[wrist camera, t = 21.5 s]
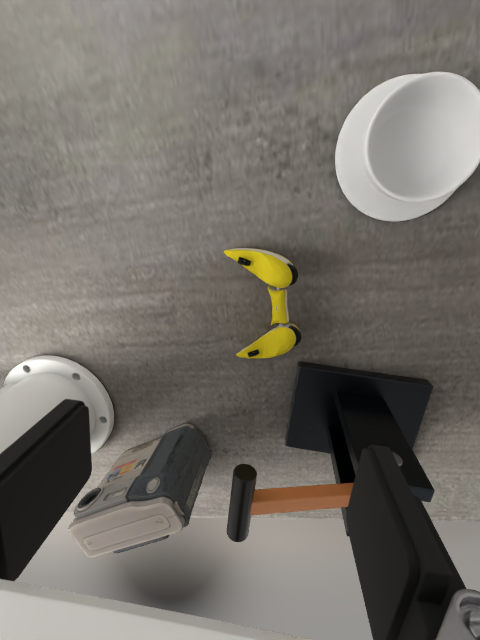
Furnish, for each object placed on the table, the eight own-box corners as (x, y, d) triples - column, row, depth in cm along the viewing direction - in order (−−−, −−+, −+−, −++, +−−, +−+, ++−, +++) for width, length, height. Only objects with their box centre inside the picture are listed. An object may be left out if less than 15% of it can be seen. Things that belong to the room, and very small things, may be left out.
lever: (224, 516, 23) (229, 551, 20) (230, 458, 21) (237, 488, 19) (380, 503, 25) (400, 532, 23) (396, 450, 23) (420, 476, 21)
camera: (196, 416, 35) (163, 491, 25) (220, 458, 36) (197, 545, 27) (110, 447, 37) (52, 525, 28) (136, 485, 39) (88, 572, 29)
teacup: (376, 246, 27) (394, 252, 23) (309, 142, 26) (315, 126, 21) (497, 164, 24) (544, 153, 20) (430, 41, 23) (466, 0, 18)
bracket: (285, 438, 34) (286, 546, 23) (298, 361, 31) (307, 442, 20) (402, 458, 33) (463, 581, 22) (427, 379, 30) (512, 475, 19)
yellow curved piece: (309, 352, 30) (296, 369, 27) (248, 346, 33) (231, 360, 30) (304, 242, 27) (289, 247, 24) (238, 246, 30) (217, 251, 27)
